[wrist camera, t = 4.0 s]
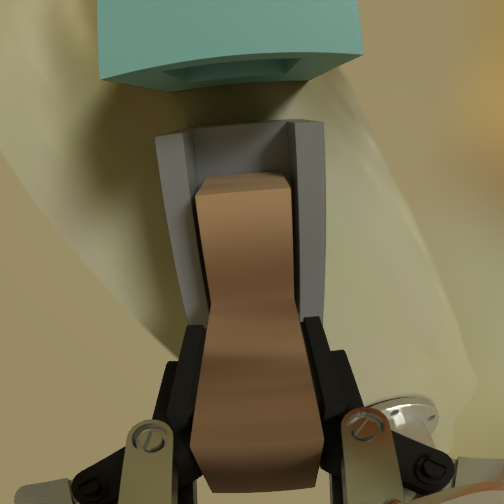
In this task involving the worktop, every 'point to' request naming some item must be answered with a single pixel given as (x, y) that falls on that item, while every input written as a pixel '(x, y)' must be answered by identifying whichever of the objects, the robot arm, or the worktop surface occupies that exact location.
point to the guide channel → (242, 162)
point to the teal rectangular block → (223, 41)
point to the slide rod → (253, 344)
